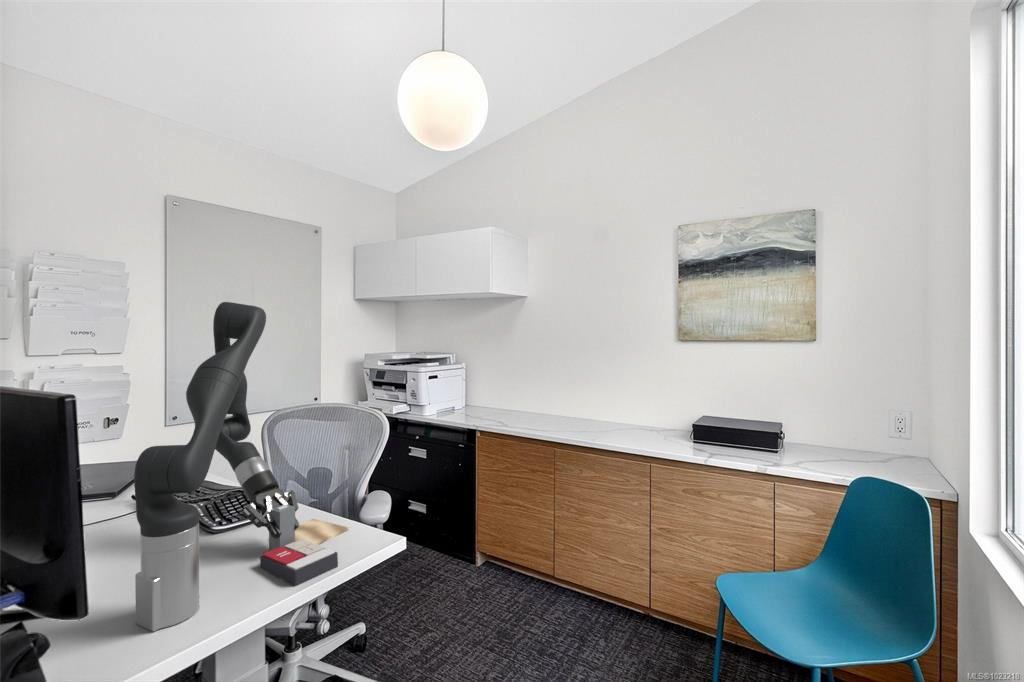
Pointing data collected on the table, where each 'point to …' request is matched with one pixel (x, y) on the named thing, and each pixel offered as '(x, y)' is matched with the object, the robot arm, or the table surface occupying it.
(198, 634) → the table surface
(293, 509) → the block
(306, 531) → the cork coaster
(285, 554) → the red-tabbed grey slab
